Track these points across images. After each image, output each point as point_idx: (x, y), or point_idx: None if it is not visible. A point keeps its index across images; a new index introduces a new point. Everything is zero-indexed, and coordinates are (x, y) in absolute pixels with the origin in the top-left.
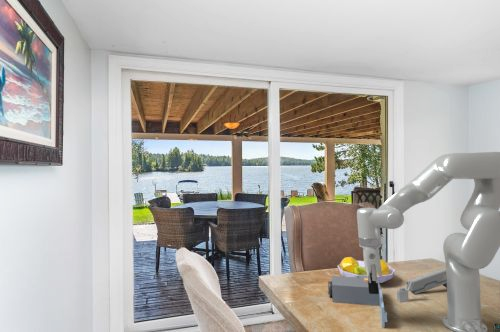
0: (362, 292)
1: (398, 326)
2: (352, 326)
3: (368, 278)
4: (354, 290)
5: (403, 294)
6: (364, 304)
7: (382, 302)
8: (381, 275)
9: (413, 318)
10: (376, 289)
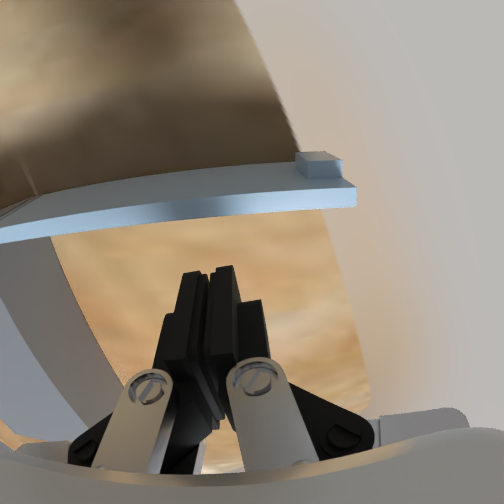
0: (40, 321)
1: (261, 86)
2: (339, 301)
3: (203, 455)
4: (57, 362)
5: None
6: (65, 277)
7: (246, 201)
8: (502, 432)
9: (118, 21)
10: (236, 307)
